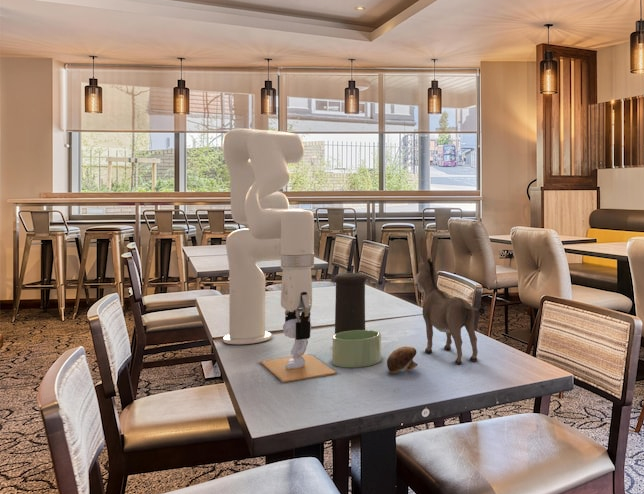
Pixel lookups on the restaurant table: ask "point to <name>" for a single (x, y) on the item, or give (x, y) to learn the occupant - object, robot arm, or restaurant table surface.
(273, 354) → the restaurant table surface
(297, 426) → the restaurant table surface
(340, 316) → the container
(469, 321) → the toy
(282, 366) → the mat
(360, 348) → the green bowl
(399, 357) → the mushroom
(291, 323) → the toy figurine
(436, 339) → the restaurant table surface
